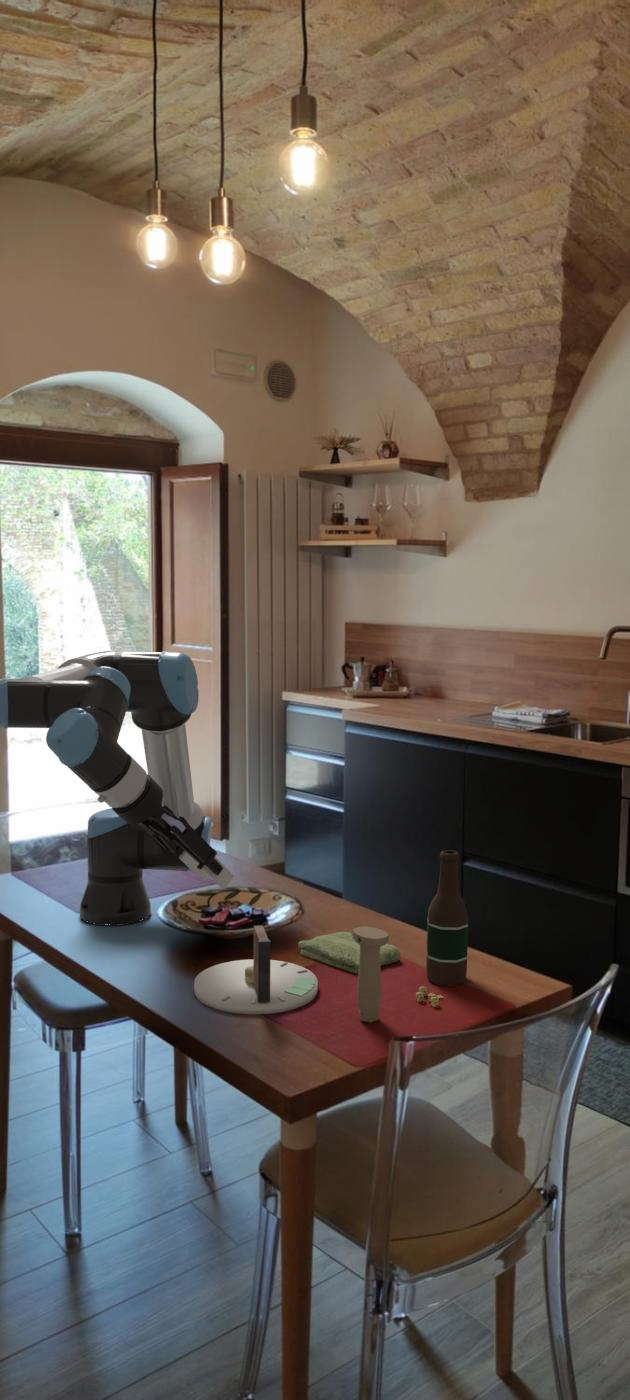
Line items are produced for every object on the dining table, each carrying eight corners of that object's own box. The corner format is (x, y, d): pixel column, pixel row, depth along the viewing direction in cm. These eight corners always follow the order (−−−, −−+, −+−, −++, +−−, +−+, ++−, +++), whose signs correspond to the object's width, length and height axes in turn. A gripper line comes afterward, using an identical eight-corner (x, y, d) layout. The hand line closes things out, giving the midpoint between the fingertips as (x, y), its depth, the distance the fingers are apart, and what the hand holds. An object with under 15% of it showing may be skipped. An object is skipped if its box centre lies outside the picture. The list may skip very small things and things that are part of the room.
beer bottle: (417, 973, 197) (421, 848, 194) (454, 969, 200) (458, 845, 197) (436, 989, 190) (440, 858, 187) (474, 983, 193) (479, 855, 190)
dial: (218, 961, 202) (219, 953, 202) (330, 974, 196) (330, 965, 196) (175, 1005, 181) (175, 996, 180) (298, 1021, 175) (298, 1011, 175)
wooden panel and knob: (243, 976, 190) (244, 918, 189) (265, 974, 191) (266, 917, 189) (252, 1003, 177) (252, 942, 176) (275, 1002, 178) (276, 941, 177)
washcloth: (340, 939, 217) (340, 924, 216) (404, 962, 204) (405, 946, 203) (293, 954, 208) (293, 938, 207) (357, 980, 195) (358, 963, 194)
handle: (367, 1009, 180) (369, 924, 178) (392, 1022, 175) (394, 935, 173) (345, 1016, 177) (346, 930, 176) (370, 1029, 172) (372, 940, 170)
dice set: (436, 1011, 181) (437, 1000, 181) (409, 1005, 184) (409, 995, 184) (447, 1001, 186) (448, 991, 186) (421, 996, 188) (421, 985, 188)
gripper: (84, 800, 165) (174, 884, 177) (145, 821, 151) (237, 910, 164) (114, 763, 168) (200, 848, 180) (176, 780, 154) (264, 871, 167)
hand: (217, 878), depth 172 cm, fingers open, 5 cm apart
